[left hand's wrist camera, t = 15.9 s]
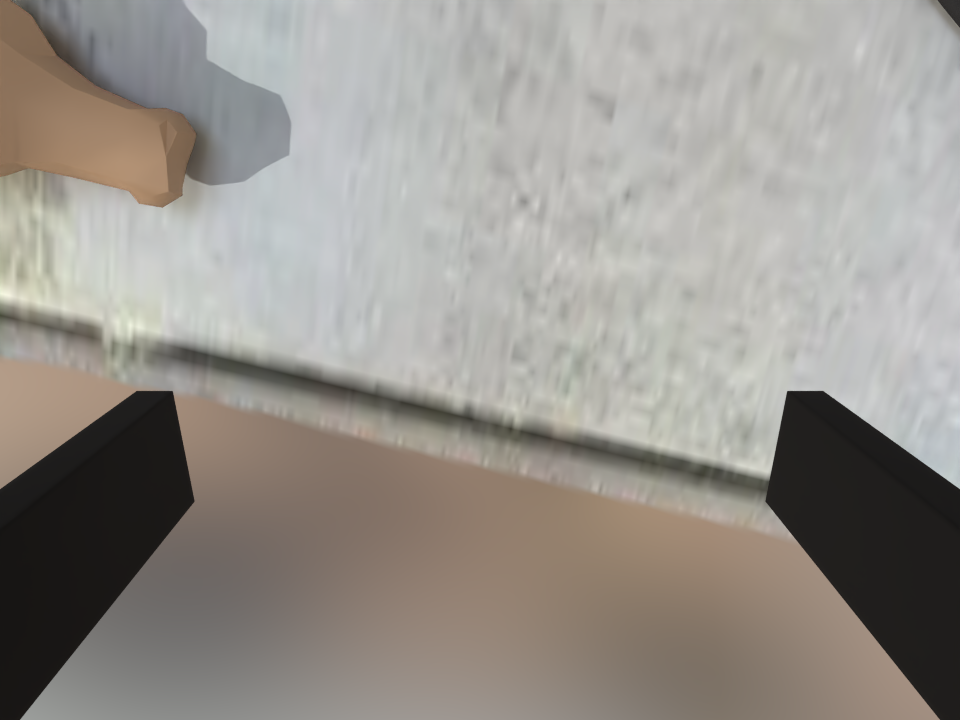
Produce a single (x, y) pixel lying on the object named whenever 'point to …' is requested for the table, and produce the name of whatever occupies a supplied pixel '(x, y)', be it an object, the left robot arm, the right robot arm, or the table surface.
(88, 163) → the squash
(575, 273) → the table surface
